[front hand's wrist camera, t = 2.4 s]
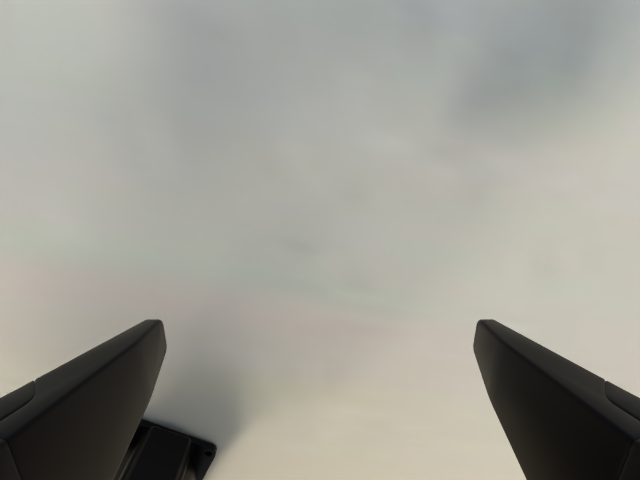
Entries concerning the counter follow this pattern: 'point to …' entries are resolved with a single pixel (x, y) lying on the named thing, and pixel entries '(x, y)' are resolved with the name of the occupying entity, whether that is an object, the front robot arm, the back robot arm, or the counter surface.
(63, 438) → the front robot arm
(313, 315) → the counter surface
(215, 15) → the counter surface
